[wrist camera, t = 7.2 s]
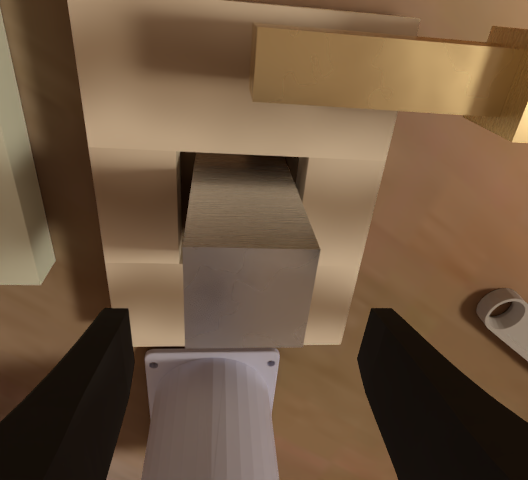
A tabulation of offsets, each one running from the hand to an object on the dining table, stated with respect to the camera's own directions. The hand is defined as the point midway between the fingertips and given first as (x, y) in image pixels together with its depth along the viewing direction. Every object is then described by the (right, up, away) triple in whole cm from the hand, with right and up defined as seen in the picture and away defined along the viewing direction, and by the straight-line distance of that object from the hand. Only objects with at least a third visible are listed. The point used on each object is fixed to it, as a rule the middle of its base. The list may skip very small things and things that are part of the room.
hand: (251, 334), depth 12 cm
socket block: (-1, +5, +8) cm, 9 cm away
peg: (-1, +5, +8) cm, 9 cm away
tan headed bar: (+5, +9, +2) cm, 10 cm away
